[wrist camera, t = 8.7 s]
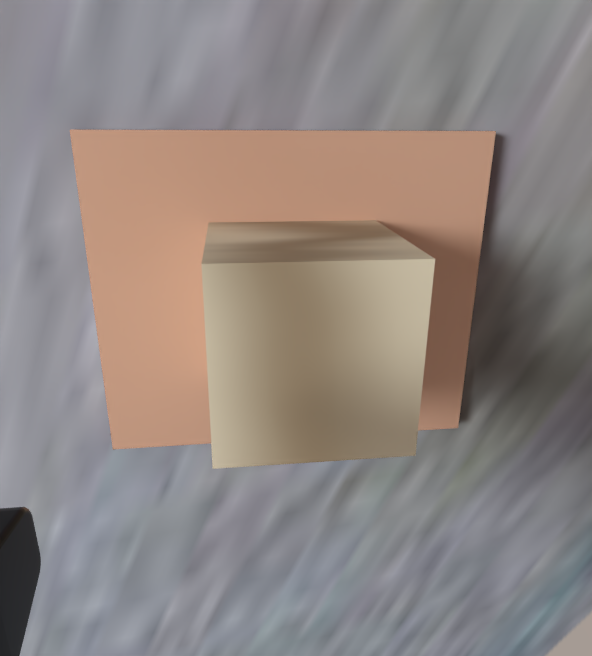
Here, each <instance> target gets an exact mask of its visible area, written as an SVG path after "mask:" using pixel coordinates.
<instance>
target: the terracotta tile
mask: <svg viewBox="0 0 592 656" xmlns="http://www.w3.org/2000/svg"><path fill="white" fill-rule="evenodd" d="M495 134H496V131H364V130H70V135H71V142H72V150H73V157H74V164H75V172H76V179H77V187H78V194H79V202H80V209H81V216H82V224H83V231H84V239H85V246H86V253H87V261H88V268H89V276H90V283H91V290H92V298H93V305H94V313H95V320H96V328H97V335H98V342H99V350H100V357H101V365H102V372H103V379H104V387H105V394H106V402H107V409H108V416H109V424H110V431H111V439H112V446H113V449H127V448H143V447H159V446H175V445H191V444H207V443H211V428H210V410H209V392H208V374H207V356H206V338H205V320H204V302H203V284H202V265H201V263H202V258H203V252H204V246H205V240H206V235H207V229H208V223H209V222H284V221H363V220H376V221H378V222H379V223H381V224H382V225H384V226H385V227H387V228H388V229H390V230H391V231H393V232H395V233H396V234H398V235H399V236H401V237H402V238H404V239H405V240H407V241H408V242H410V243H411V244H413V245H415V246H416V247H418V248H419V249H421V250H422V251H424V252H425V253H427V254H428V255H430V256H431V257H433V258H435V266H434V276H433V286H432V296H431V306H430V316H429V326H428V336H427V346H426V355H425V365H424V375H423V385H422V395H421V405H420V415H419V425H418V430H432V429H448V428H458V424H459V416H460V408H461V401H462V393H463V385H464V377H465V369H466V361H467V354H468V346H469V338H470V330H471V322H472V314H473V306H474V299H475V291H476V283H477V275H478V267H479V259H480V251H481V244H482V236H483V228H484V220H485V212H486V204H487V197H488V189H489V181H490V173H491V165H492V157H493V149H494V142H495Z"/></svg>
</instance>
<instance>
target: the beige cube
mask: <svg viewBox="0 0 592 656" xmlns="http://www.w3.org/2000/svg"><path fill="white" fill-rule="evenodd" d="M201 265H202V284H203V302H204V320H205V338H206V356H207V374H208V392H209V410H210V428H211V446H212V464H213V469H216V468H231V467H247V466H262V465H277V464H293V463H308V462H324V461H339V460H355V459H370V458H385V457H401V456H415V454H416V444H417V435H418V425H419V415H420V405H421V395H422V385H423V375H424V365H425V355H426V346H427V336H428V326H429V316H430V306H431V296H432V286H433V276H434V266H435V258H433V257H431V256H430V255H428V254H427V253H425V252H424V251H422V250H421V249H419V248H418V247H416V246H415V245H413V244H411V243H410V242H408V241H407V240H405V239H404V238H402V237H401V236H399V235H398V234H396V233H395V232H393V231H391V230H390V229H388V228H387V227H385V226H384V225H382V224H381V223H379V222H378V221H376V220H363V221H284V222H209V223H208V229H207V235H206V240H205V246H204V252H203V258H202V263H201Z"/></svg>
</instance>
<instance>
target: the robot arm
mask: <svg viewBox="0 0 592 656" xmlns="http://www.w3.org/2000/svg"><path fill="white" fill-rule="evenodd" d="M40 564H41V559H40V551H39V546H38V542H37V537H36V532H35V527H34V522H33V517H32V514H31V512H30V511H29V509H27V508H25V507H15V508H1V509H0V656H19V655H20V651H21V647H22V643H23V639H24V635H25V631H26V627H27V623H28V619H29V614H30V610H31V606H32V602H33V598H34V594H35V590H36V586H37V582H38V578H39V573H40Z"/></svg>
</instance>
